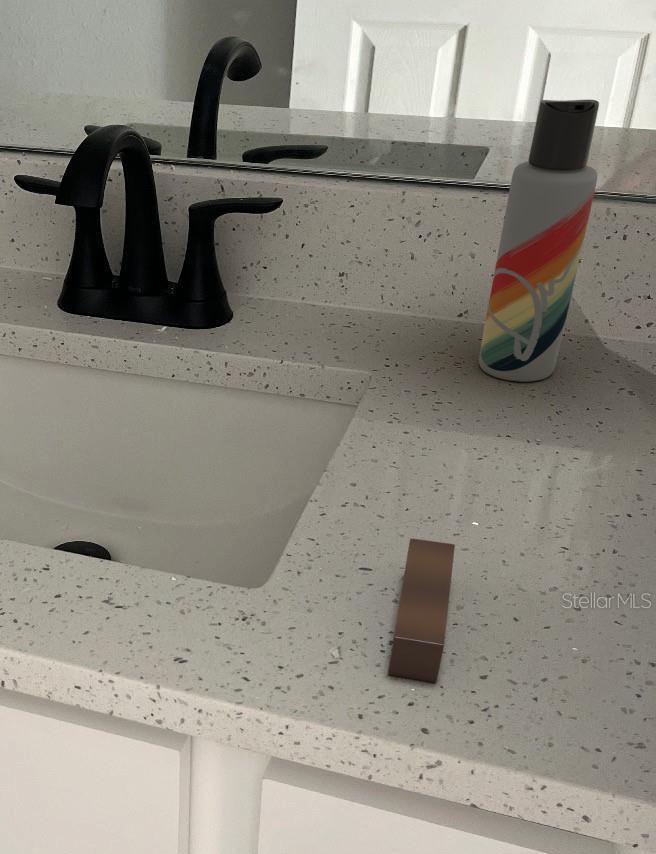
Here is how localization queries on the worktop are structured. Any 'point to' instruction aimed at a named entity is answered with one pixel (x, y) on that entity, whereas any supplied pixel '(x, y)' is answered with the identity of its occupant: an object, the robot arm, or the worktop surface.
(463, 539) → the worktop surface
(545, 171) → the lotion bottle
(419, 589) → the walnut stick
